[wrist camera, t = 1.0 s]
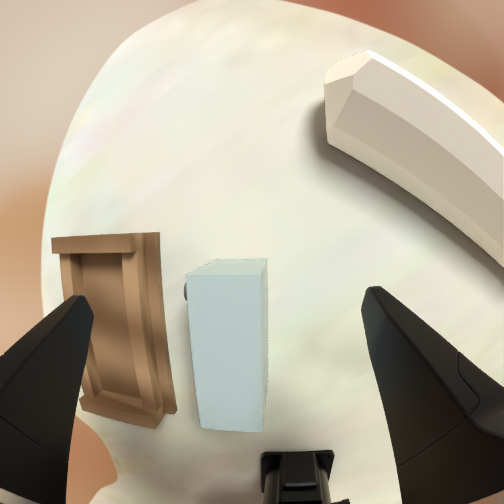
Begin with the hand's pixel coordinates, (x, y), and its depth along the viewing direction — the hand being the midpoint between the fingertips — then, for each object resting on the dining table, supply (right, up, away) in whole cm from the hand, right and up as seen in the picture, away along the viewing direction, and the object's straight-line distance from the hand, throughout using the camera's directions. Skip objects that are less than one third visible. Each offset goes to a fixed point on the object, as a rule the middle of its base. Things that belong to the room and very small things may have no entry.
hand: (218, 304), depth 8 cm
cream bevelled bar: (+17, +8, +10) cm, 21 cm away
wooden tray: (-10, -5, +13) cm, 17 cm away
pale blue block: (0, -3, +12) cm, 13 cm away
